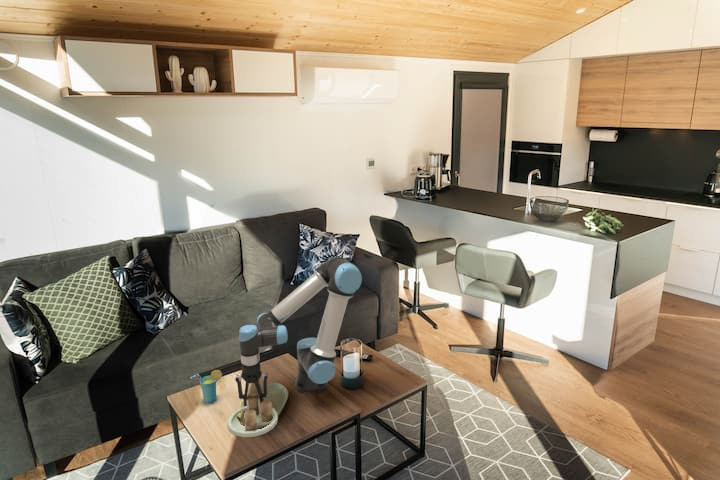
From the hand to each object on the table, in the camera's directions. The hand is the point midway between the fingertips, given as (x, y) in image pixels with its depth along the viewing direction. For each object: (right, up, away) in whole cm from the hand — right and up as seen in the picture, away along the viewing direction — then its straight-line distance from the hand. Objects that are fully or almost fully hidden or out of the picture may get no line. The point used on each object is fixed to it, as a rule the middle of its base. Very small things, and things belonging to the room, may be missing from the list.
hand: (254, 411), depth 209 cm
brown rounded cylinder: (+6, -2, -5) cm, 8 cm away
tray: (+1, -3, -5) cm, 6 cm away
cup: (-23, 0, +11) cm, 26 cm away
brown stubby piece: (0, -1, 0) cm, 1 cm away
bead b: (+1, -4, -11) cm, 12 cm away
